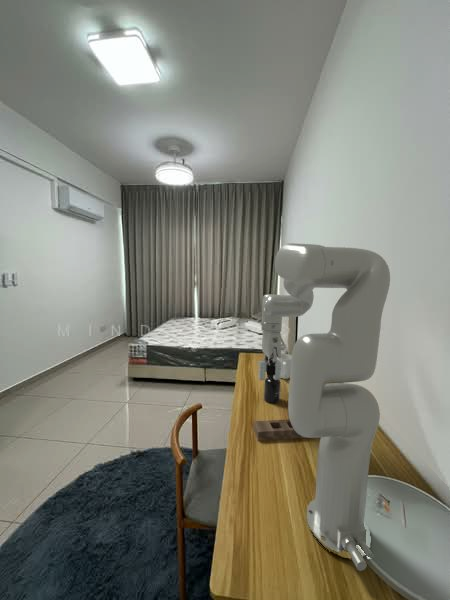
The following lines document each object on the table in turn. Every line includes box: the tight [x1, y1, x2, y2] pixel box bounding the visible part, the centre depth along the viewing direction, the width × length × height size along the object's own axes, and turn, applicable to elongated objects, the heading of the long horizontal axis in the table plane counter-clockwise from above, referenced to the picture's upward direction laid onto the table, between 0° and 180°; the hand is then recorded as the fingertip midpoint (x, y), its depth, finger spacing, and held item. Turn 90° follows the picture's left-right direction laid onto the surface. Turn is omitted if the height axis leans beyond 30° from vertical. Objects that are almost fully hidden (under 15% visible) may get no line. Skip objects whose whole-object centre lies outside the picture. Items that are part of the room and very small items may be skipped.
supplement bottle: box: [263, 374, 281, 404], centre depth 107 cm, size 7×7×12 cm
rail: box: [253, 419, 308, 441], centre depth 84 cm, size 20×6×3 cm, turn 97°
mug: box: [277, 353, 292, 380], centre depth 131 cm, size 12×9×11 cm
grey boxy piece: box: [258, 359, 281, 381], centre depth 95 cm, size 8×3×7 cm, turn 97°
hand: (269, 372), depth 95 cm, fingers closed on grey boxy piece, 3 cm apart
